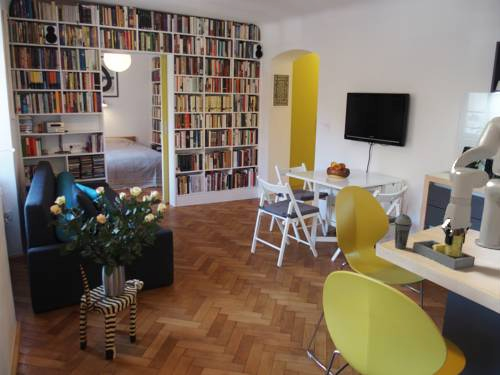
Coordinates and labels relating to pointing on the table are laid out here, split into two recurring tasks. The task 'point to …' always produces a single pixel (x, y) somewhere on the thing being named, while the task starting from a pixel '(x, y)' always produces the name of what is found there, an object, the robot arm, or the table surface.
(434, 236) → the table surface
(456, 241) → the sauce bottle
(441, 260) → the grey tray
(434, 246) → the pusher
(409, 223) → the beverage cup
